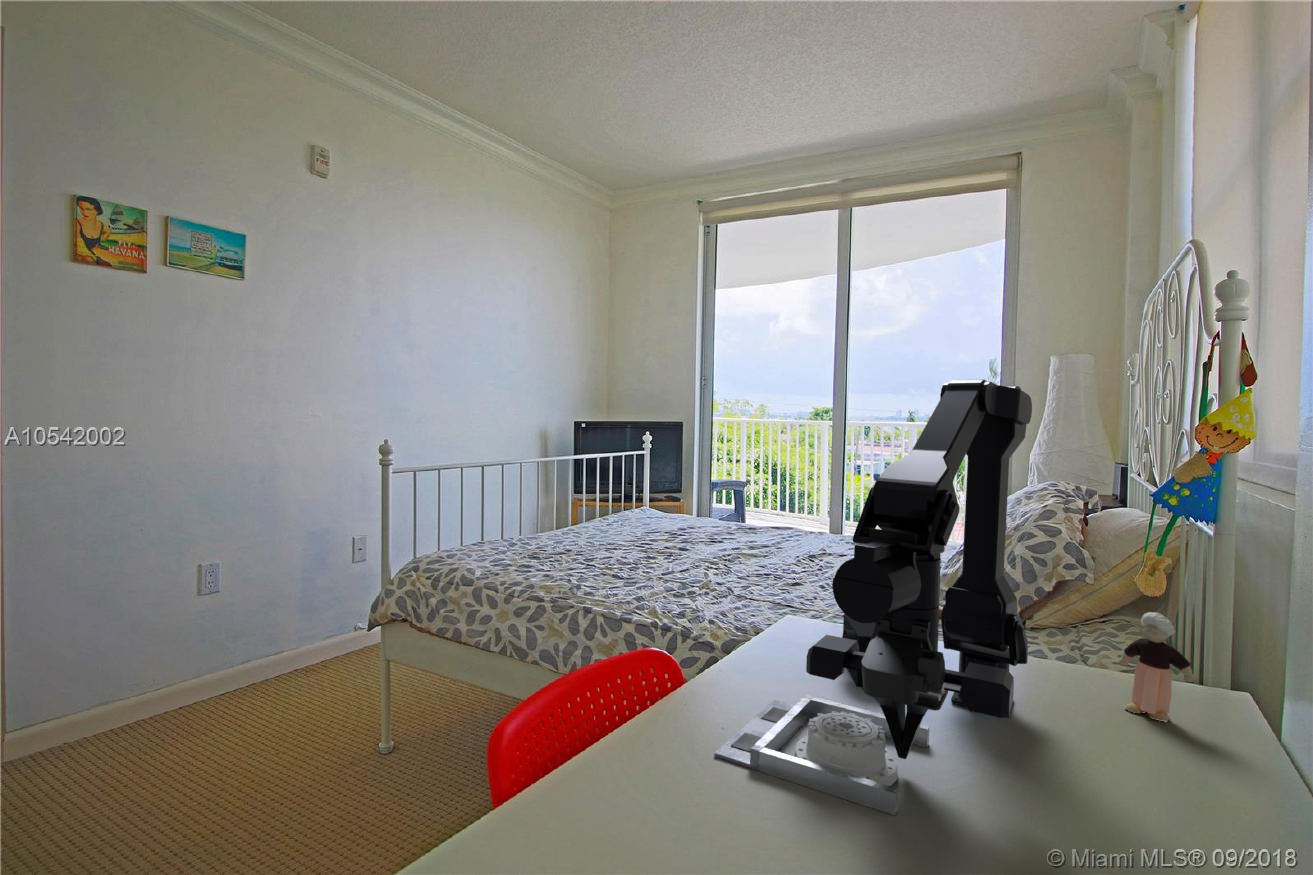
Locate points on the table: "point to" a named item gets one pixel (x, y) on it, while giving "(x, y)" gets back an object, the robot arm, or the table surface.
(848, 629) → the digital camera
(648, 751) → the table surface
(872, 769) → the mechanical component
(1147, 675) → the grandmother figurine
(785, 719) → the u-shaped metal bracket
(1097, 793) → the table surface
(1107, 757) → the table surface
